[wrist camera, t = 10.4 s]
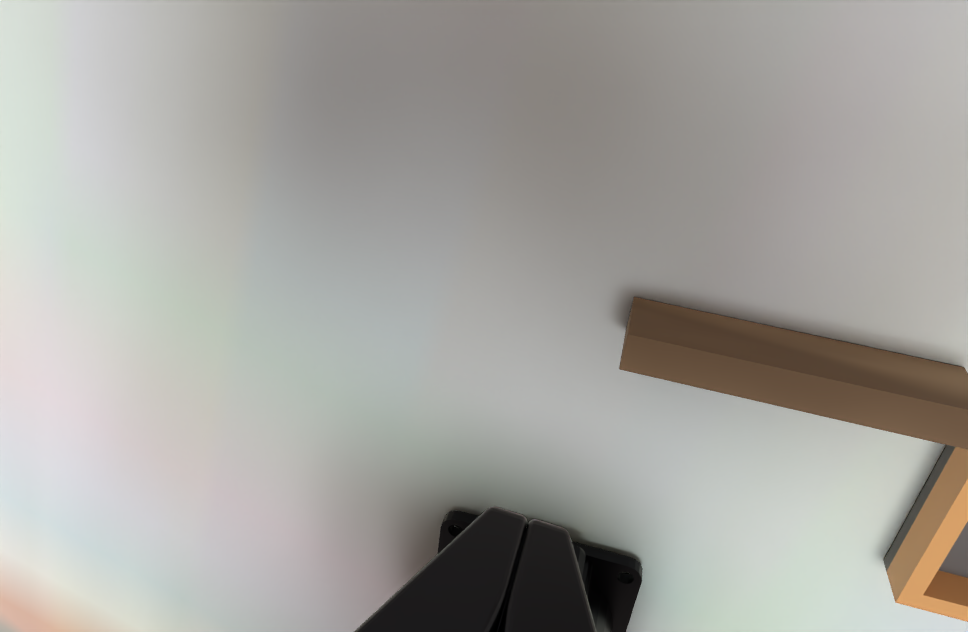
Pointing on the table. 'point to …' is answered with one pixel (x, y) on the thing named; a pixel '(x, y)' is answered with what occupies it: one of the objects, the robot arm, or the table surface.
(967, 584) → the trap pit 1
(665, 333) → the finger box
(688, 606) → the table surface
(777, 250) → the table surface
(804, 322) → the table surface
